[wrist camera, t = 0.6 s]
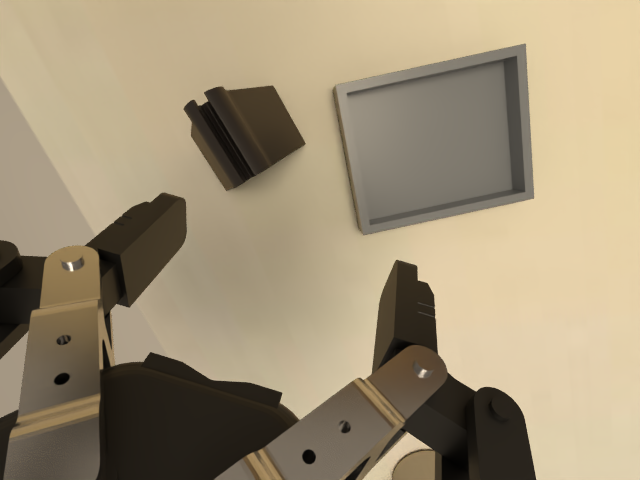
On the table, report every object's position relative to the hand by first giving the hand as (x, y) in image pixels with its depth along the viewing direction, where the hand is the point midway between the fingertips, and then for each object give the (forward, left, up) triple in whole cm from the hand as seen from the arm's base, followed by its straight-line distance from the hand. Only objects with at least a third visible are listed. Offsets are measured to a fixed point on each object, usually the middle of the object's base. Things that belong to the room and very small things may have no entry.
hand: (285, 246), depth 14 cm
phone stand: (-5, -3, -24) cm, 25 cm away
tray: (-1, +14, -24) cm, 27 cm away
